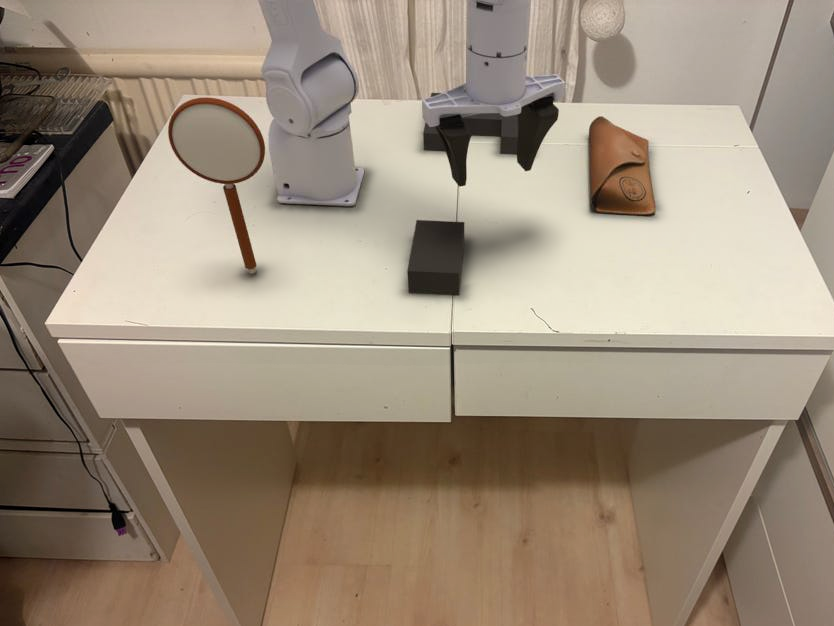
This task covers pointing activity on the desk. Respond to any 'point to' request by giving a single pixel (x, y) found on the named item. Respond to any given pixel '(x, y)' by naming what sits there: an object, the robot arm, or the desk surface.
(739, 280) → the desk surface
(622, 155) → the sunglasses case
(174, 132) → the magnifying glass
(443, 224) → the black rectangular block
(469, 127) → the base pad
